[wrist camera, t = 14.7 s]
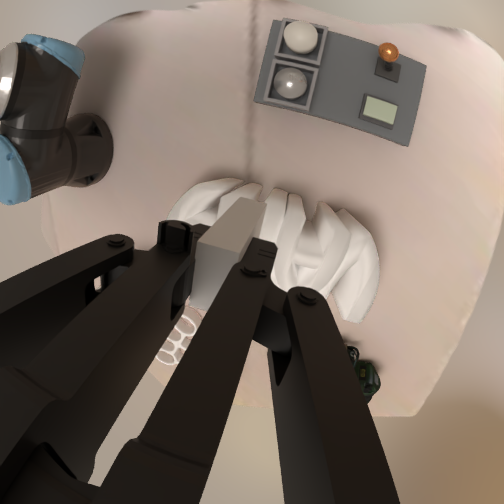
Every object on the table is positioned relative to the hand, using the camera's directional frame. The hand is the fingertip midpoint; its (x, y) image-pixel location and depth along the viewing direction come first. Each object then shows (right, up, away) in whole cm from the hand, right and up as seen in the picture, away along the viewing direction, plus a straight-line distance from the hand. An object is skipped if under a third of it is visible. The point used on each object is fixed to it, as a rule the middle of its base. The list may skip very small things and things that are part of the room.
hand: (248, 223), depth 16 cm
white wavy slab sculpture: (+5, +1, +35) cm, 35 cm away
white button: (+7, +27, +17) cm, 33 cm away
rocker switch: (+18, +18, +20) cm, 33 cm away
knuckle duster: (-15, -21, +49) cm, 55 cm away
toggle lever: (+20, +25, +17) cm, 36 cm away
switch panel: (+14, +25, +22) cm, 36 cm away
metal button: (+6, +22, +21) cm, 31 cm away
